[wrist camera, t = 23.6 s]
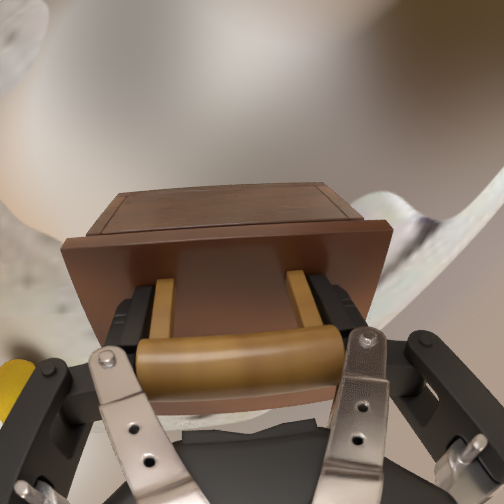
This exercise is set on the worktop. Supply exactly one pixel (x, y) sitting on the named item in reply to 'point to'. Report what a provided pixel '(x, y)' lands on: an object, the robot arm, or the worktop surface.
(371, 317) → the worktop surface
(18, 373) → the lemon
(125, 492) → the robot arm
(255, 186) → the chest
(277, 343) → the lid
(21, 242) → the worktop surface
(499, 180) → the worktop surface
